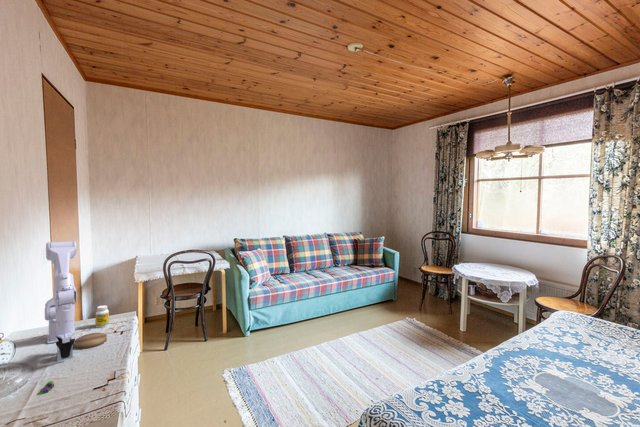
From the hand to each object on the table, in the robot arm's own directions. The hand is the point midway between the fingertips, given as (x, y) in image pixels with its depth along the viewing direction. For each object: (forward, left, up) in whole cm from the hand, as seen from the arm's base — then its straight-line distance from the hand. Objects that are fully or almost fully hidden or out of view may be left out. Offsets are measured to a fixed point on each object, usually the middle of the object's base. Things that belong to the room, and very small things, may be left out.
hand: (64, 353), depth 116 cm
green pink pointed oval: (+22, -5, -2) cm, 23 cm away
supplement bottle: (-26, +15, -2) cm, 30 cm away
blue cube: (0, 0, -2) cm, 2 cm away
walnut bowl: (-8, +9, -1) cm, 12 cm away
